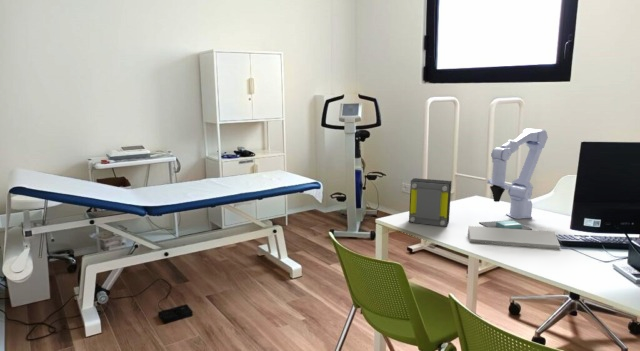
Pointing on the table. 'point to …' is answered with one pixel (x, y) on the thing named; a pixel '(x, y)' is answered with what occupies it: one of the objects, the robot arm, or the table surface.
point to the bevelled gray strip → (513, 237)
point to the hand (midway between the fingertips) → (496, 201)
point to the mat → (493, 225)
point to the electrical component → (430, 201)
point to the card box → (509, 224)
